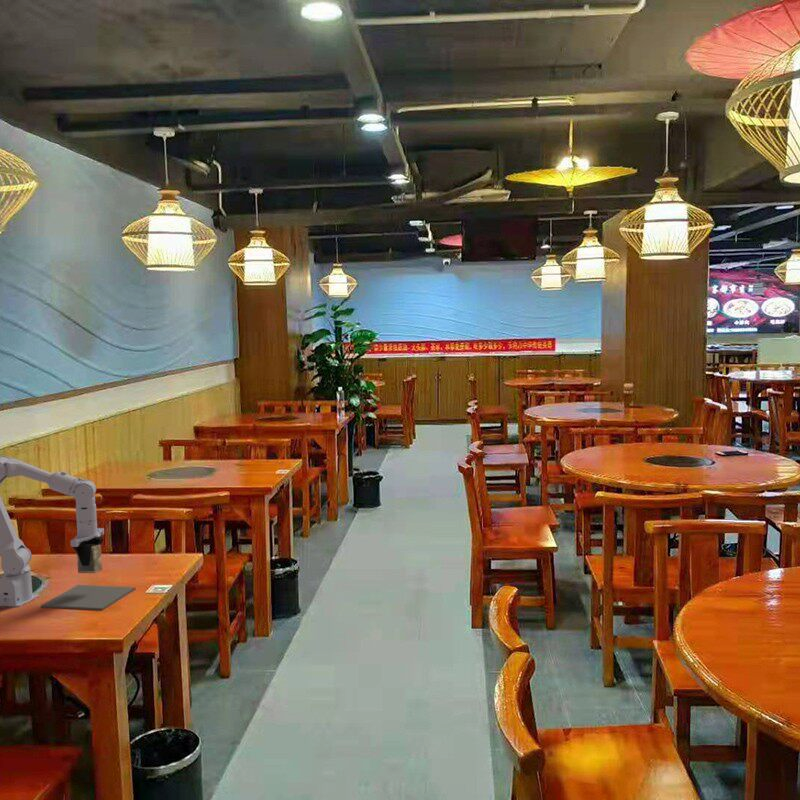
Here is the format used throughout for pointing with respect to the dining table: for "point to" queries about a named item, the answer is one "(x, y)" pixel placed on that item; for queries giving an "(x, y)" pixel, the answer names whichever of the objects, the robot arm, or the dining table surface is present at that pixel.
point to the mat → (89, 597)
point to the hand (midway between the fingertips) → (89, 563)
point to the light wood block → (92, 561)
